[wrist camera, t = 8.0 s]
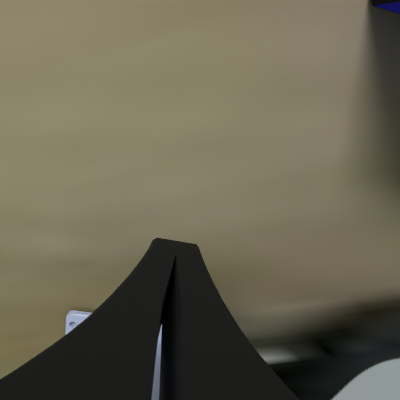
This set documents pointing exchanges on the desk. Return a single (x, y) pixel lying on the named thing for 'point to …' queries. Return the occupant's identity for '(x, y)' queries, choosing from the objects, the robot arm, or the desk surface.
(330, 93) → the desk surface
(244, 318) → the desk surface
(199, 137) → the desk surface
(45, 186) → the desk surface
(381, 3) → the puzzle cube
